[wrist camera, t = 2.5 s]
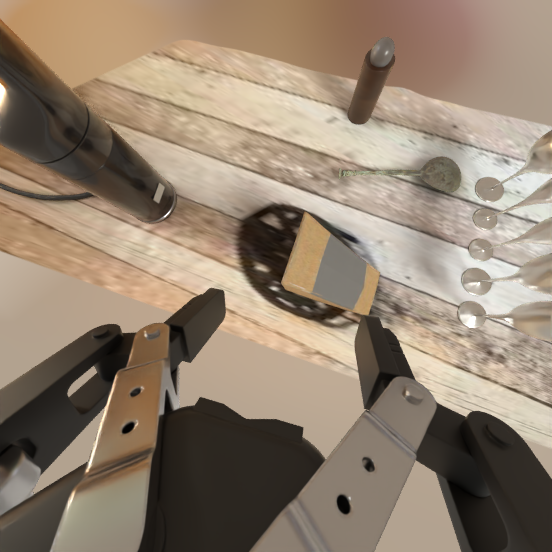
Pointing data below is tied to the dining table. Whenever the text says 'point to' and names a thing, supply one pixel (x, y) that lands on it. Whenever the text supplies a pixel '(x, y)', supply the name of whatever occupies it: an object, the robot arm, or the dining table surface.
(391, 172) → the soupspoon
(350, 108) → the pepper mill
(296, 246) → the sandwich container
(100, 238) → the dining table surface
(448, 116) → the dining table surface
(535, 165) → the goblet set
